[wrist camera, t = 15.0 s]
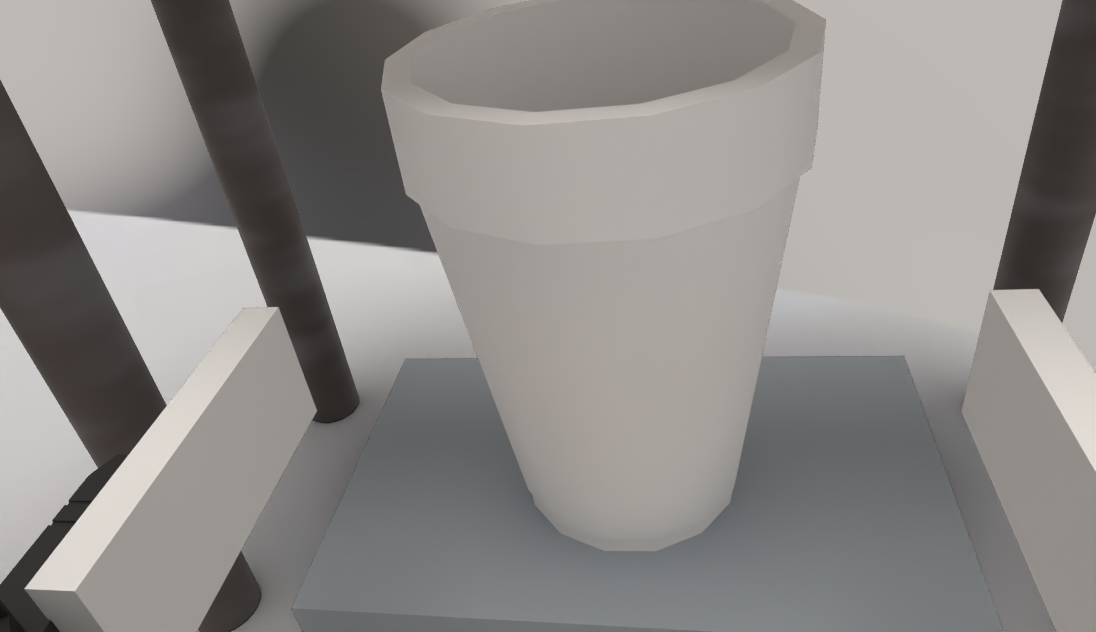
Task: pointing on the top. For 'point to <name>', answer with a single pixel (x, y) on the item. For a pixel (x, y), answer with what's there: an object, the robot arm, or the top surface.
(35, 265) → the wooden top stool
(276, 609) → the top surface
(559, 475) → the foam cup
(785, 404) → the shelf board
